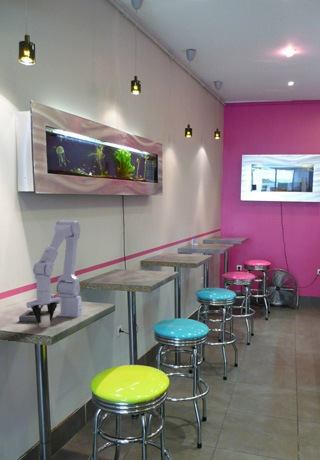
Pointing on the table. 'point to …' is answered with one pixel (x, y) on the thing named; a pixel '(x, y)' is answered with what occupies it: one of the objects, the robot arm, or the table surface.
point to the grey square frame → (28, 317)
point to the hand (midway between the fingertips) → (44, 321)
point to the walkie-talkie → (54, 297)
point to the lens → (44, 319)
